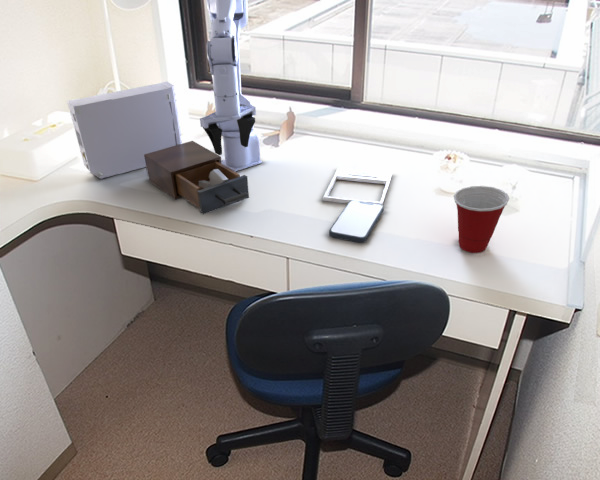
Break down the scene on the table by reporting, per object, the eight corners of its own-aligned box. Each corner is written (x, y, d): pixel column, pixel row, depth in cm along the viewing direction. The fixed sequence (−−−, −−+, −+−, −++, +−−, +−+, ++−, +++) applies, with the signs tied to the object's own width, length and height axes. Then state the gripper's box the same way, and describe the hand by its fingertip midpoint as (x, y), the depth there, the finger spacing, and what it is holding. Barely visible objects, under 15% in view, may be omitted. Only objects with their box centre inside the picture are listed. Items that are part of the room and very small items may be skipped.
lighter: (228, 179, 132) (209, 160, 135) (223, 179, 131) (204, 160, 134) (221, 203, 137) (202, 184, 140) (215, 204, 136) (197, 185, 139)
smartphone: (365, 245, 121) (385, 211, 132) (365, 239, 120) (385, 205, 131) (326, 237, 124) (349, 205, 135) (327, 231, 123) (349, 199, 134)
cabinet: (223, 183, 146) (220, 156, 142) (175, 199, 139) (170, 172, 134) (196, 166, 155) (192, 140, 151) (149, 180, 148) (143, 154, 143)
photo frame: (392, 171, 147) (382, 202, 133) (392, 175, 148) (382, 206, 134) (338, 166, 150) (323, 196, 136) (338, 170, 151) (323, 200, 137)
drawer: (260, 204, 134) (258, 182, 131) (213, 222, 128) (211, 199, 124) (220, 180, 146) (217, 159, 142) (175, 194, 139) (171, 173, 136)
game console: (186, 157, 160) (176, 86, 148) (93, 181, 148) (73, 106, 136) (178, 150, 164) (167, 81, 152) (86, 174, 152) (66, 100, 140)
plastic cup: (447, 230, 125) (456, 181, 117) (497, 236, 122) (509, 186, 115) (443, 255, 117) (451, 204, 109) (497, 263, 114) (509, 211, 107)
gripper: (208, 104, 123) (215, 162, 131) (261, 91, 130) (264, 147, 138) (192, 97, 127) (199, 153, 136) (244, 84, 135) (248, 139, 143)
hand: (231, 149), depth 137 cm, fingers open, 7 cm apart
